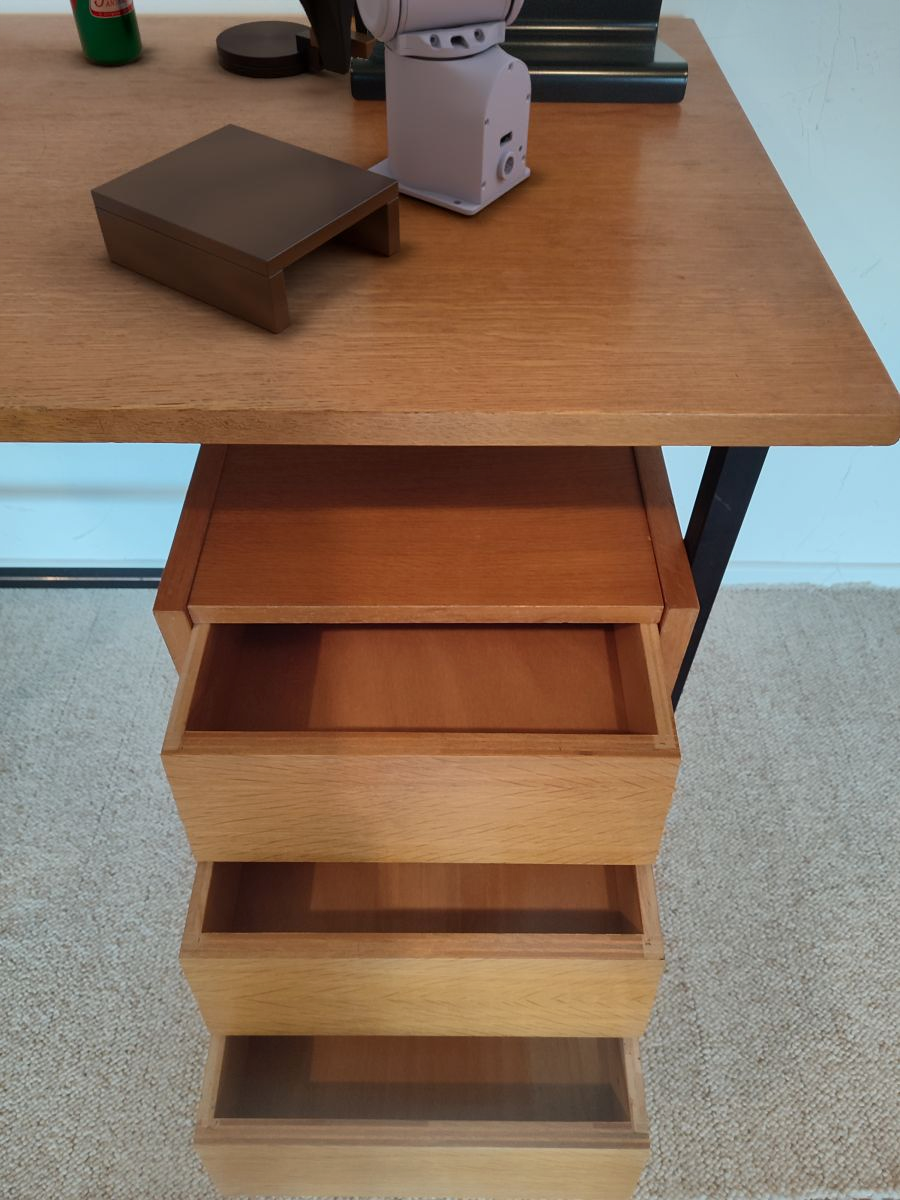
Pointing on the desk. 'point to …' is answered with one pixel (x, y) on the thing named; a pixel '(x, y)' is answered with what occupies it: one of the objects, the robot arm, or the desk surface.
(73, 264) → the desk surface
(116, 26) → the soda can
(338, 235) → the brown stand
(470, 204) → the robot arm
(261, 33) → the pan
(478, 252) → the desk surface
